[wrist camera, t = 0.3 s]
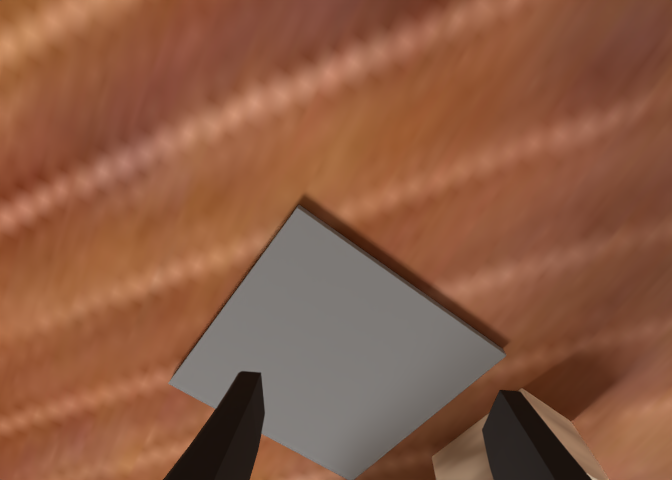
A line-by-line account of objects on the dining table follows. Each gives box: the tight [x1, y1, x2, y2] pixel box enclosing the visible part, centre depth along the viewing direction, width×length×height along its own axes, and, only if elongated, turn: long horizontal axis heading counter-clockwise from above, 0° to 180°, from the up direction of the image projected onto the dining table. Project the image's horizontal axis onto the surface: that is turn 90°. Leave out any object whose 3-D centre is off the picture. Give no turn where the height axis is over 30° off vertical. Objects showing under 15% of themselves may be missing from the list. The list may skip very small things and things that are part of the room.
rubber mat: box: [168, 205, 507, 480], centre depth 23 cm, size 16×16×1 cm
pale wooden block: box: [432, 388, 610, 480], centre depth 24 cm, size 9×5×5 cm, turn 144°
